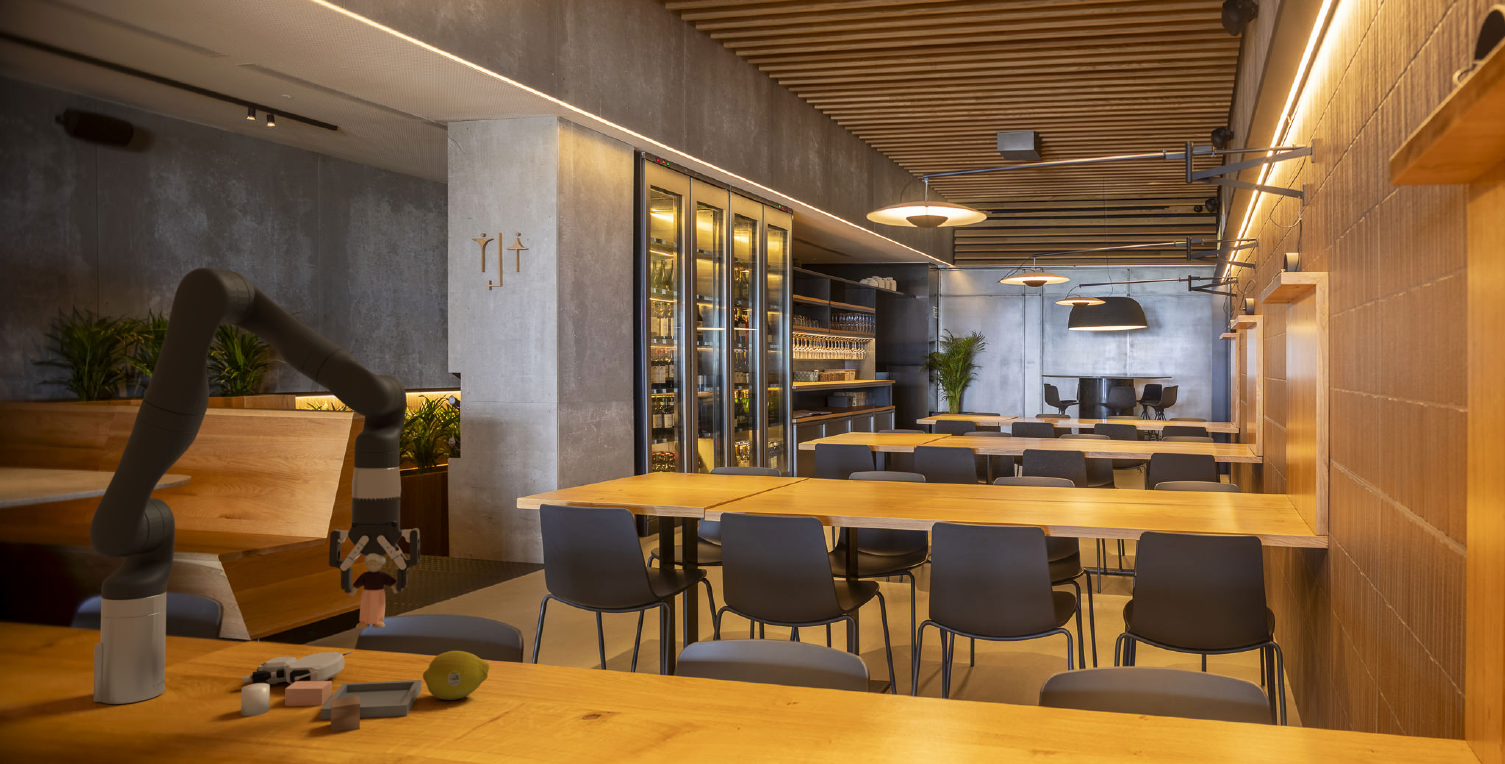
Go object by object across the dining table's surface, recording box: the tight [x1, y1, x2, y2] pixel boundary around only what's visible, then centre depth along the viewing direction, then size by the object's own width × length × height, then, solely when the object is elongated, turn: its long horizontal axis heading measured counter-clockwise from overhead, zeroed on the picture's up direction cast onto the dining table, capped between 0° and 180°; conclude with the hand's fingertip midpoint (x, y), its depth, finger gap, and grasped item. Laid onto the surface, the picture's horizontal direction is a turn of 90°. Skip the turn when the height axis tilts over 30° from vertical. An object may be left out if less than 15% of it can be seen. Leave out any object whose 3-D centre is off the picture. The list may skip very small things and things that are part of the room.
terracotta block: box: [284, 680, 333, 707], centre depth 154 cm, size 6×4×3 cm, turn 93°
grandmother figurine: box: [348, 553, 399, 630], centre depth 153 cm, size 8×4×13 cm, turn 117°
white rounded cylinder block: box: [240, 682, 271, 717], centre depth 148 cm, size 4×4×4 cm
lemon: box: [422, 650, 490, 701], centre depth 156 cm, size 11×8×8 cm
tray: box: [320, 679, 423, 721], centre depth 153 cm, size 13×13×2 cm
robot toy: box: [241, 651, 353, 685], centre depth 164 cm, size 12×4×15 cm
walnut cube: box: [330, 696, 361, 734], centre depth 142 cm, size 4×4×4 cm
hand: (374, 591), depth 153 cm, fingers closed on grandmother figurine, 8 cm apart
